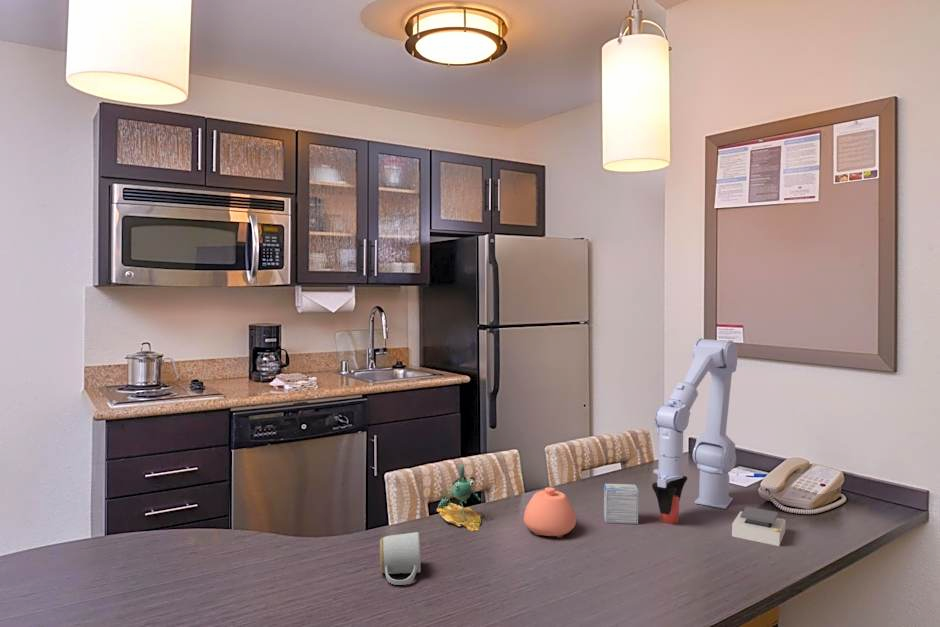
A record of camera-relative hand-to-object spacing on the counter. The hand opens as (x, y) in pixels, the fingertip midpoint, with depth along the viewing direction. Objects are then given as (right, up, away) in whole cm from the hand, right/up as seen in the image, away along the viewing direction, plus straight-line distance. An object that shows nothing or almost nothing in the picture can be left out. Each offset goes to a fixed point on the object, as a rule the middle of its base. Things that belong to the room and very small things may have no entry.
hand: (669, 509), depth 158 cm
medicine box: (-12, -3, 0) cm, 13 cm away
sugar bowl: (-30, -3, -6) cm, 31 cm away
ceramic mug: (-63, -4, -30) cm, 70 cm away
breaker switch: (+18, -2, -8) cm, 20 cm away
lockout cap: (0, -3, 0) cm, 3 cm away
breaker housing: (+18, -3, -8) cm, 20 cm away
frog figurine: (-52, -3, +1) cm, 52 cm away
